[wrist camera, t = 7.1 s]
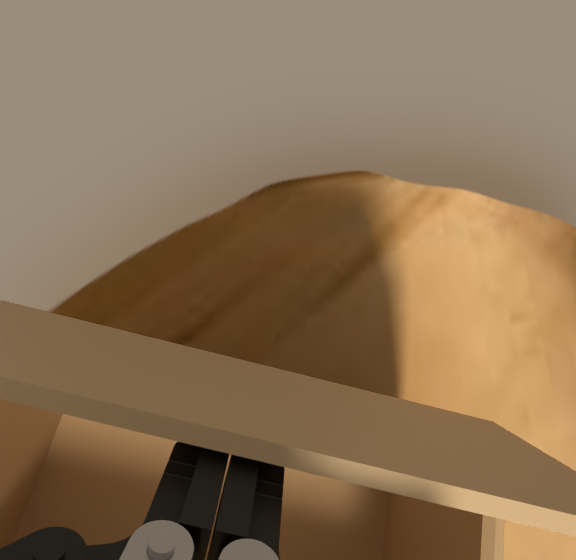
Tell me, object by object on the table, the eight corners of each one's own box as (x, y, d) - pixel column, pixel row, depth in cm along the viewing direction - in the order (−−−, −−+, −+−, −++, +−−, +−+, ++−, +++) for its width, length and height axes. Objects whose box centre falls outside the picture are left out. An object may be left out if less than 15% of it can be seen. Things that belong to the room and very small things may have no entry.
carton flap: (490, 432, 23) (492, 421, 23) (693, 565, 12) (697, 545, 12) (-1, 311, 22) (2, 300, 22) (-265, 335, 11) (-259, 314, 11)
